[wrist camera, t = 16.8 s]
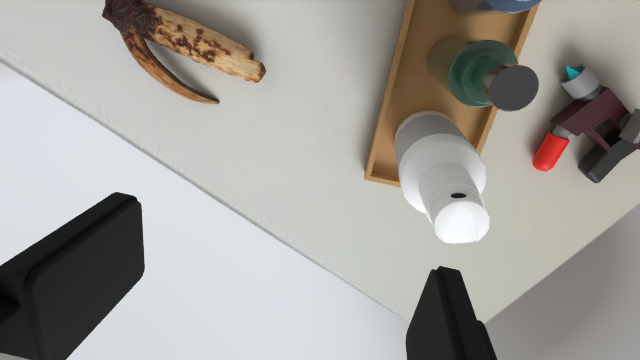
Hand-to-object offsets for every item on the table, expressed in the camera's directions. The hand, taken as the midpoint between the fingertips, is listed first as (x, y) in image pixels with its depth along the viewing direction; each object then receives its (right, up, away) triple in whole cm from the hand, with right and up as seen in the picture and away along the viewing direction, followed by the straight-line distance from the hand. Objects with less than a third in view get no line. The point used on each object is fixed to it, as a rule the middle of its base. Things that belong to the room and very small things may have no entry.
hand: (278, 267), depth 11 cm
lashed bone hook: (-13, +17, +28) cm, 35 cm away
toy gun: (+27, +8, +26) cm, 38 cm away
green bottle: (+14, +15, +24) cm, 32 cm away
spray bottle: (+13, +7, +28) cm, 32 cm away
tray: (+14, +13, +25) cm, 32 cm away
